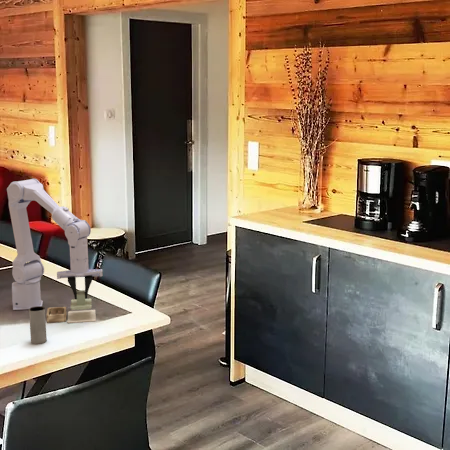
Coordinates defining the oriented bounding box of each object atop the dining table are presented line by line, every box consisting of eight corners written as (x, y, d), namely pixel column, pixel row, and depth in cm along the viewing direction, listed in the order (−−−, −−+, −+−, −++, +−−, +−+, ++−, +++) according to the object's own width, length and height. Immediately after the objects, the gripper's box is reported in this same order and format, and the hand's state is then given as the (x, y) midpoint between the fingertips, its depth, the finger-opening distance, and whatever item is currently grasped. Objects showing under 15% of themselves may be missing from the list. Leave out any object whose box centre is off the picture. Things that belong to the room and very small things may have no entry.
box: (46, 323, 216) (46, 315, 216) (48, 315, 224) (47, 307, 224) (66, 321, 218) (65, 314, 217) (66, 313, 225) (66, 306, 225)
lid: (70, 311, 217) (70, 297, 216) (71, 303, 225) (70, 289, 224) (91, 310, 218) (91, 295, 217) (91, 302, 227) (90, 288, 226)
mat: (67, 323, 216) (67, 322, 216) (68, 312, 227) (68, 311, 227) (95, 321, 218) (95, 320, 218) (95, 310, 229) (95, 309, 228)
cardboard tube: (32, 338, 203) (30, 306, 201) (47, 338, 203) (46, 305, 201) (29, 344, 198) (27, 311, 196) (45, 344, 199) (43, 310, 197)
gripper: (55, 262, 213) (57, 303, 216) (102, 260, 216) (103, 300, 219) (56, 257, 220) (58, 296, 223) (101, 254, 223) (103, 294, 225)
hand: (81, 298), depth 221 cm, fingers closed on lid, 3 cm apart
